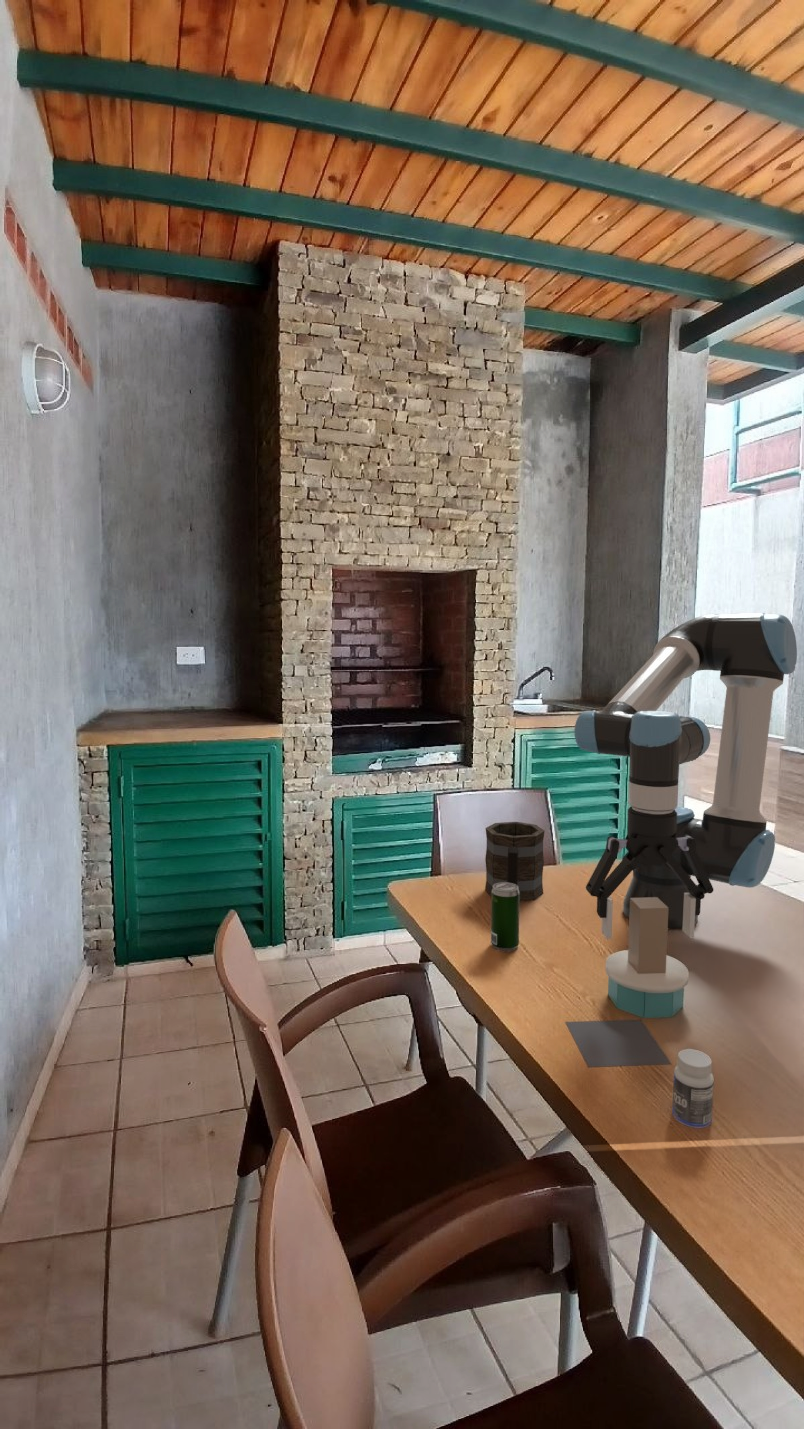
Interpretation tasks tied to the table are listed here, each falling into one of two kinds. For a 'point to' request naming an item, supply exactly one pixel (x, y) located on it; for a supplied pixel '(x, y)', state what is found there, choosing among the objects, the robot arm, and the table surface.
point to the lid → (647, 952)
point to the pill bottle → (693, 1089)
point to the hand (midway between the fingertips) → (647, 935)
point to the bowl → (645, 1001)
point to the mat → (616, 1043)
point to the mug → (515, 858)
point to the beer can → (505, 916)
